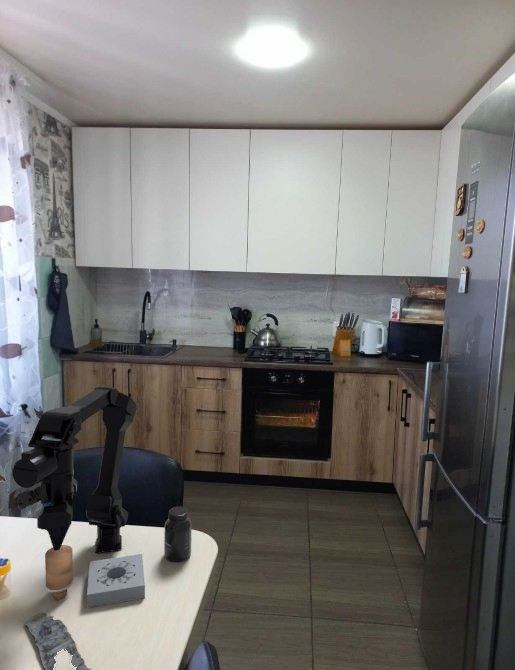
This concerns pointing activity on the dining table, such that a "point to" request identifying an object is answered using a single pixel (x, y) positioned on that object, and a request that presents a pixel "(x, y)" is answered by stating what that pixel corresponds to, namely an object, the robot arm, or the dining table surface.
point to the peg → (59, 571)
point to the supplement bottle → (177, 535)
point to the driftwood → (53, 640)
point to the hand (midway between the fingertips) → (59, 538)
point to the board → (115, 580)
